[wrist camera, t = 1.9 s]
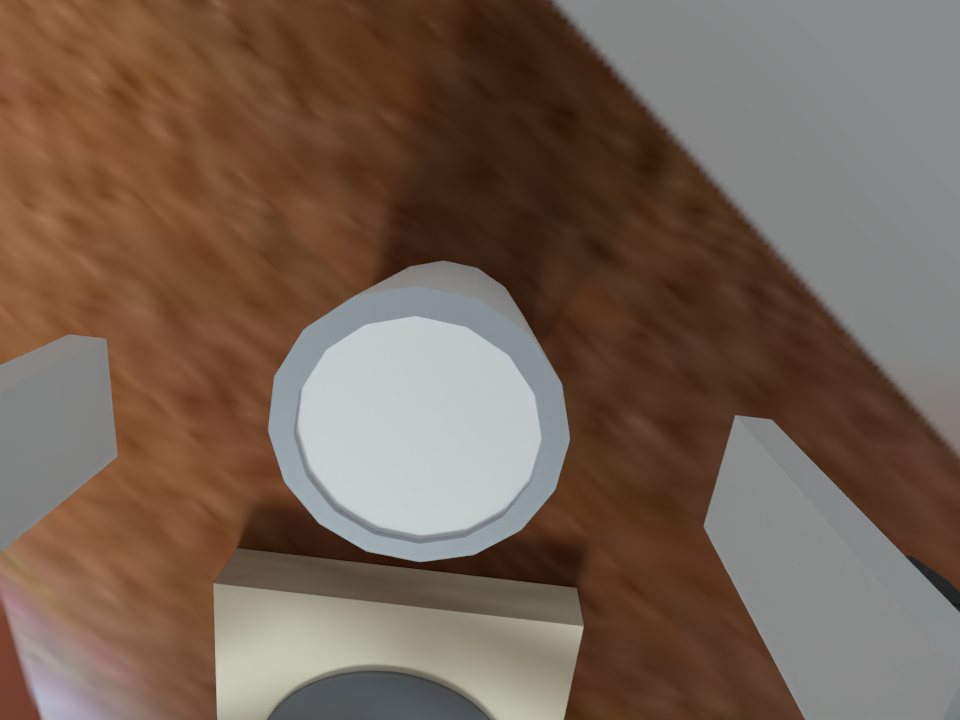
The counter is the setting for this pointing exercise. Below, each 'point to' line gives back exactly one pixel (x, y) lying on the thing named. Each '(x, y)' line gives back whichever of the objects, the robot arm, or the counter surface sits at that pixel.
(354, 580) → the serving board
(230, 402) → the counter surface
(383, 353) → the shot glass
